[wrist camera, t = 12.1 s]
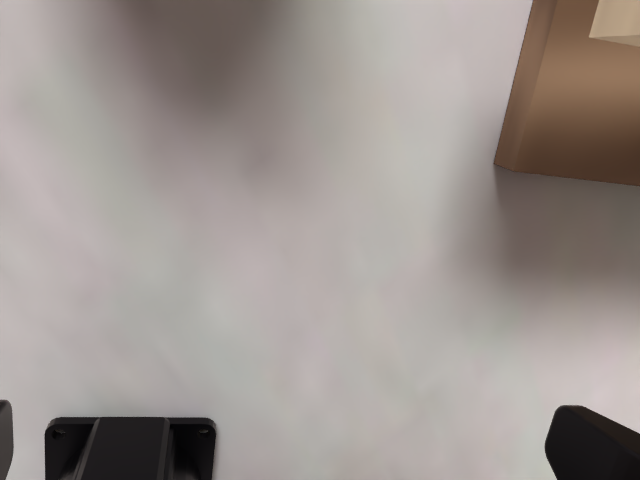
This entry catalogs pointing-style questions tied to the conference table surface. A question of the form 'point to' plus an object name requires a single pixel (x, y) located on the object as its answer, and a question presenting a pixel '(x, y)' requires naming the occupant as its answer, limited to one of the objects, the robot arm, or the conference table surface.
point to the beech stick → (617, 21)
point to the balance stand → (573, 100)
